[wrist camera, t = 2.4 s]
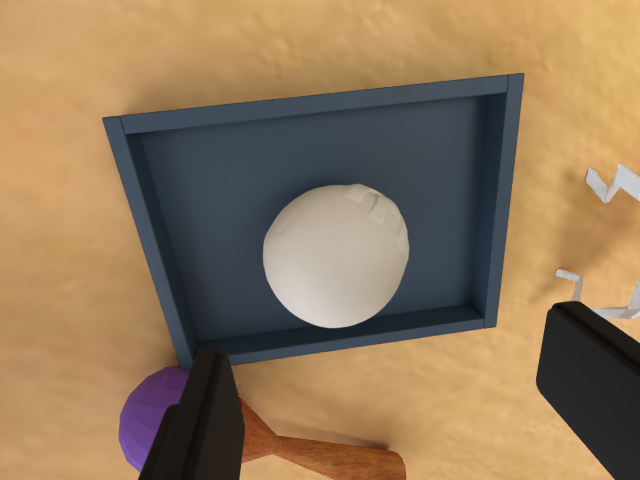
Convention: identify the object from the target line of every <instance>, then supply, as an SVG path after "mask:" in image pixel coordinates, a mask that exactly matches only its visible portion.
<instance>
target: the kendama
mask: <svg viewBox="0 0 640 480" xmlns="http://www.w3.org/2000/svg"><path fill="white" fill-rule="evenodd" d="M189 373H190V371H183V370H181V367H180V366H175V367H166V368H164V369H162V370H160V371H158V372H156V373H154V374H152V375H150V376H148V377H147V378H146V379H145V380H144V381H143V382H142V383H141V384H140V385H139V386H138V387H137V388H136V389H135V390H134V391H133V392H132V393H131V394H130V395H129V397H128V399H127V401H126V403H125V405H124V407H123V409H122V412H121V415H120V426H119V442H120V444H121V447H122V449H123V452H124V455H125V457H126V460H127V462H129V463H130V464H131V465H132V466H133V467H135V468H136V469H137V470H138V471H139V472H140V473H141V471H142V468H143V466H144V463H145V461H146V458H147V456H148V453H149V451H150V448H151V446H152V443H153V441H154V438H155V436H156V433H157V431H158V428H159V426H160V423H161V420H162V418H163V415H164V413H165V411H166V409H167V407H169V406H170V405H173V404H179V401H180V398H181V395H182V393H183V390H184V387H185V384H186V382H187V379H188V376H189ZM239 401H240V405H241V409H242V414H243V418H244V422H245V439H244V446H243V454H242V462H241V463H244V462H247V461H250V460H254V459H257V458H260V457H264V456H267V455H271V454H274V455H276V456H279V457H281V458H283V459H286V460H288V461H291V462H293V463H296V464H298V465H300V466H303V467H305V468H308V469H310V470H312V471H315V472H317V473H320V474H322V475H325V476H327V477H329V478H332V479H334V480H406V470H405V465H404V462H403V460H402V458H401V457H400V455H399V454H398V453H396V452H393V451H388V450H381V449H374V448H366V447H359V446H351V445H344V444H336V443H329V442H321V441H314V440H306V439H299V438H292V437H284V436H277V435H276V434H275V433H274V432H273V431H272V430H271V429H270V428H269V427H268V426H267V425H266V424H265V423H264V422H263V421H262V419H261V418H260V417H259V416H258V415H257V414H256V413H255V412H254V411H253V410H252V409H251V408H250V407H249V406H248V405H247V404H246V403H245V402H244V401H243V400H242V399H241V398H240V397H239Z"/></svg>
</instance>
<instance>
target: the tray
mask: <svg viewBox="0 0 640 480" xmlns="http://www.w3.org/2000/svg"><path fill="white" fill-rule="evenodd" d="M523 82H524V73H517V74H508V75H498V76H489V77H479V78H470V79H461V80H451V81H442V82H432V83H423V84H413V85H404V86H395V87H385V88H376V89H366V90H357V91H347V92H338V93H328V94H319V95H310V96H300V97H291V98H281V99H272V100H262V101H253V102H244V103H234V104H225V105H215V106H206V107H196V108H187V109H177V110H168V111H159V112H149V113H140V114H130V115H121V116H112V117H103V118H102V120H103V123H104V126H105V130H106V133H107V136H108V139H109V142H110V145H111V149H112V152H113V155H114V158H115V161H116V164H117V168H118V171H119V174H120V177H121V180H122V183H123V187H124V190H125V193H126V196H127V199H128V202H129V206H130V209H131V212H132V215H133V218H134V221H135V224H136V228H137V231H138V234H139V237H140V240H141V243H142V247H143V250H144V253H145V256H146V259H147V262H148V266H149V269H150V272H151V275H152V278H153V281H154V285H155V288H156V291H157V294H158V297H159V300H160V304H161V307H162V310H163V313H164V316H165V319H166V322H167V326H168V329H169V332H170V335H171V338H172V341H173V345H174V348H175V351H176V354H177V357H178V360H179V364H180V367H181V370H183V371H191V368H192V365H193V362H194V360H195V357H196V354H197V352H198V351H200V350H208V349H215V348H219V349H220V350H221V353H227V354H228V356H229V360H230V364H231V366H232V365H239V364H246V363H253V362H260V361H266V360H273V359H280V358H287V357H294V356H300V355H307V354H314V353H321V352H328V351H335V350H341V349H348V348H355V347H362V346H369V345H375V344H382V343H389V342H396V341H403V340H409V339H416V338H423V337H430V336H437V335H444V334H450V333H457V332H464V331H471V330H478V329H483V328H484V329H486V328H493V327H496V324H497V315H498V306H499V297H500V288H501V279H502V270H503V261H504V252H505V243H506V235H507V226H508V217H509V208H510V199H511V190H512V181H513V172H514V163H515V154H516V145H517V136H518V127H519V118H520V109H521V100H522V91H523ZM352 184H362V185H364V186H367V187H369V188H371V189H374V190H376V191H378V192H379V193H381V194H383V195H384V196H385V197H387V198H389V199H390V200H392V201H393V202H394V203H395V204H396V206H397V207H398V209H399V212H400V214H401V216H402V217H403V219H404V222H405V225H406V228H407V238H408V242H409V257H408V261H407V263H406V267H405V270H404V274H403V276H402V279H401V282H400V284H399V286H398V288H397V290H396V292H395V294H394V295H393V297H392V298H391V299H390V301H389V302H388V303H387V304H386V305H385V306H384V307H383V308H382V309H381V310H380V311H379V312H378V313H376V314H375V315H374V316H372V317H371V318H369V319H367V320H365V321H363V322H360V323H357V324H355V325H352V326H348V327H340V328H326V327H320V326H317V325H314V324H311V323H309V322H306V321H305V320H302V319H300V318H299V317H297V316H295V315H294V314H292V313H291V312H290V311H289V310H288V309H287V308H286V307H285V306H284V305H283V304H282V303H281V302H280V301H279V299H278V298H277V296H276V295H275V294H274V292H273V290H272V288H271V286H270V284H269V282H268V280H267V277H266V273H265V268H264V264H263V245H264V240H265V236H266V234H267V232H268V230H269V229H270V227H271V225H272V224H273V222H274V221H275V219H276V217H277V216H278V214H279V213H280V212H281V211H282V210H283V209H284V207H286V206H287V205H288V204H289V203H290V202H292V201H293V200H294V199H296V198H297V197H299V196H301V195H302V194H304V193H306V192H307V191H310V190H312V189H315V188H319V187H324V186H329V185H345V186H346V185H352Z"/></svg>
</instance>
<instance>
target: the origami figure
mask: <svg viewBox="0 0 640 480" xmlns="http://www.w3.org/2000/svg"><path fill="white" fill-rule="evenodd" d="M586 182H587V183H588V185H589V186H590V187H591V188H592V190H593V191H594V192H595V193H596V194H597V196H598V197H599V198H600V199H601V200H602V202H603V203H608V202H609V201H610V200H611V199H612V197H613V196H614V195H615V193H616V192H617V191H618V190H619V188H620V187H621V188H622V189H623V190H625V191H626V192H627V193H629V194H630V195H631V196H633V197H634V198H635V199H637V200H638V201H639V202H640V177H639V176H638V175H637V174H636V173H634V172H633V171H632V170H631V169H630V168H628V167H627V166H625V165H622V164H620V163H619V164H618V167H617V169H616V171H615V174H614V176H613V179H612V181H611V184H610V186H609V188H607V186H606V185H605V183H604V182H603V181H602V179H601V178H600V176H599V175H598V174H597V172H596V171H595V170H594V169H590V168H589V170H588V174H587V178H586ZM555 276H558V277H562V278H565V279H568V280H572V281H575V282H576V285H575V289H574V293H573V297H572V301H579V302H580V299H581V291H582V282H583V275H580V274H577V273H573V272H570V271H566V270H562V269H558V270H557V272H556V274H555ZM591 310H593V311H594V312H596V313H597V314H598V315H600V316H601V317H603V318H621V319H632V318H636V317H639V316H640V278H639V280H638V283H637V285H636V288H635V290H634V293H633V295H632V298H631V301H630V303H629V306H626V307H612V308H600V309H591Z"/></svg>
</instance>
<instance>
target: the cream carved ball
mask: <svg viewBox="0 0 640 480" xmlns="http://www.w3.org/2000/svg"><path fill="white" fill-rule="evenodd" d="M408 257H409V242H408V238H407V228H406V225H405V222H404V219H403V217H402V216H401V214H400V212H399V209H398V207H397V206H396V204H395V203H394V202H393V201H392V200H390V199H389V198H387V197H385V196H384V195H383V194H381V193H379V192H378V191H376V190H374V189H371V188H369V187H367V186H364V185H362V184H352V185H346V186H345V185H329V186H324V187H319V188H315V189H312V190H310V191H307V192H306V193H304V194H302V195H301V196H299V197H297V198H296V199H294V200H293V201H292V202H290V203H289V204H288V205H287V206H286V207H284V209H283V210H282V211H281V212H280V213H279V214H278V216H277V217H276V219H275V221H274V222H273V224H272V225H271V227H270V229H269V230H268V232H267V234H266V236H265V240H264V245H263V264H264V268H265V273H266V277H267V280H268V282H269V284H270V286H271V288H272V290H273V292H274V294H275V295H276V296H277V298H278V299H279V301H280V302H281V303H282V304H283V305H284V306H285V307H286V308H287V309H288V310H289V311H290V312H291V313H292V314H294V315H295V316H297V317H299V318H300V319H302V320H305V321H306V322H309V323H311V324H314V325H317V326H320V327H326V328H340V327H348V326H352V325H355V324H357V323H360V322H363V321H365V320H367V319H369V318H371V317H372V316H374V315H375V314H376V313H378V312H379V311H380V310H381V309H382V308H383V307H384V306H385V305H386V304H387V303H388V302H389V301H390V299H391V298H392V297H393V295H394V294H395V292H396V290H397V288H398V286H399V284H400V282H401V279H402V276H403V274H404V270H405V267H406V263H407V261H408Z"/></svg>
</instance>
